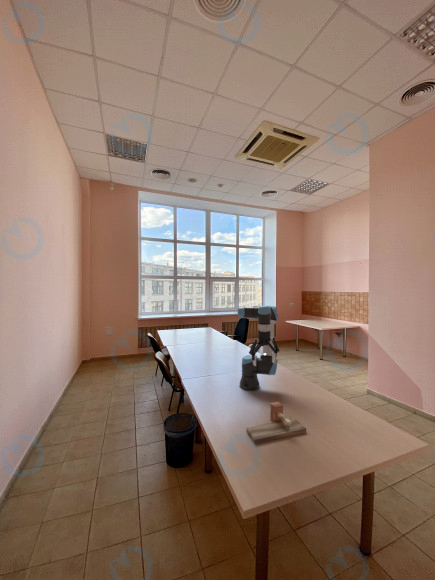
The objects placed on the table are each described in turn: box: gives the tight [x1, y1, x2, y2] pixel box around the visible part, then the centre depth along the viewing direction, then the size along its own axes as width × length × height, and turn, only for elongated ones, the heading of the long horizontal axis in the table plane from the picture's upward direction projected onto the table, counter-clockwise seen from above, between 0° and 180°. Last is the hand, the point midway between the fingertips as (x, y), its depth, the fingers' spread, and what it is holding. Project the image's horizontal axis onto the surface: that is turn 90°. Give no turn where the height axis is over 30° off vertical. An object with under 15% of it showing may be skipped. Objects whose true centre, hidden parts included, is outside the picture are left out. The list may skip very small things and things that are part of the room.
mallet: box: [269, 401, 291, 430], centre depth 127 cm, size 15×5×10 cm, turn 17°
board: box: [245, 417, 307, 444], centre depth 123 cm, size 10×30×2 cm, turn 107°
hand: (264, 364), depth 146 cm, fingers open, 13 cm apart
